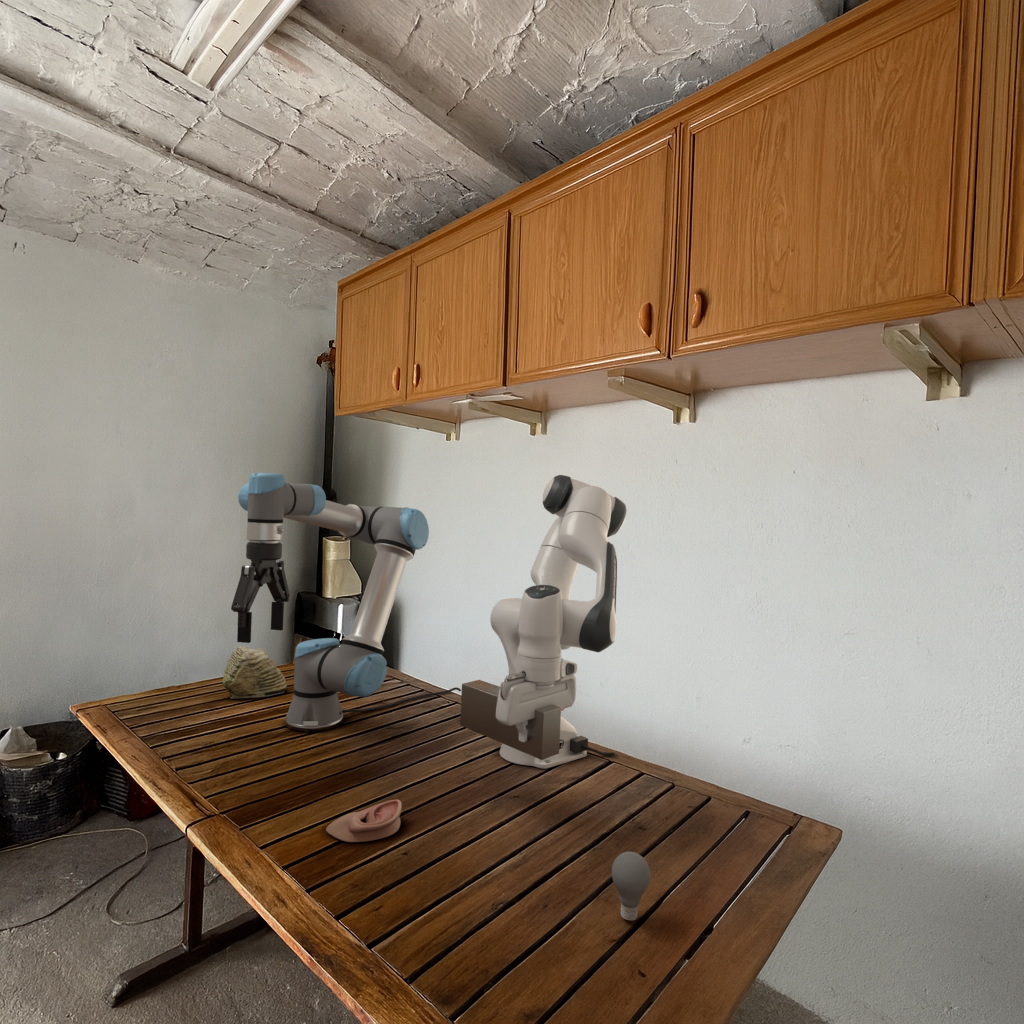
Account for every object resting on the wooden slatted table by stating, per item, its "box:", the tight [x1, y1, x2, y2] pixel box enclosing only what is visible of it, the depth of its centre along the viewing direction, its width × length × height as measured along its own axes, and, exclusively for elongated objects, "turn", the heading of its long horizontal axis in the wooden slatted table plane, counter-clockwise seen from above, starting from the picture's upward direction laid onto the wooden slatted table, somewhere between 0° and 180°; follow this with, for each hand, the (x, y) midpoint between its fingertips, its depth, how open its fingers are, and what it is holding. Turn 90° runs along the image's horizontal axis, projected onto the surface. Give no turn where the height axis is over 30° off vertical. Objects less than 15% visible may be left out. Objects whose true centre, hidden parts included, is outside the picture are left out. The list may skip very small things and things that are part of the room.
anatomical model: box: [325, 799, 403, 843], centre depth 122 cm, size 13×4×12 cm
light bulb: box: [611, 851, 652, 921], centre depth 99 cm, size 6×6×10 cm
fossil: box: [222, 646, 288, 699], centre depth 198 cm, size 9×18×15 cm, turn 132°
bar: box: [459, 679, 562, 760], centre depth 132 cm, size 24×5×9 cm, turn 46°
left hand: (261, 635), depth 143 cm, fingers open, 13 cm apart
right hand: (535, 737), depth 126 cm, fingers closed on bar, 5 cm apart
